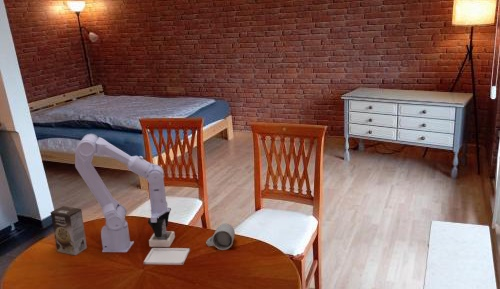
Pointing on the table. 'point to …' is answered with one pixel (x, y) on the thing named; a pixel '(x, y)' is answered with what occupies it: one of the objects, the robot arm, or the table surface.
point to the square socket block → (162, 243)
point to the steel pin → (163, 231)
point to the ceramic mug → (222, 237)
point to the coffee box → (68, 230)
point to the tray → (167, 256)
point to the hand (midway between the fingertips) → (161, 231)
